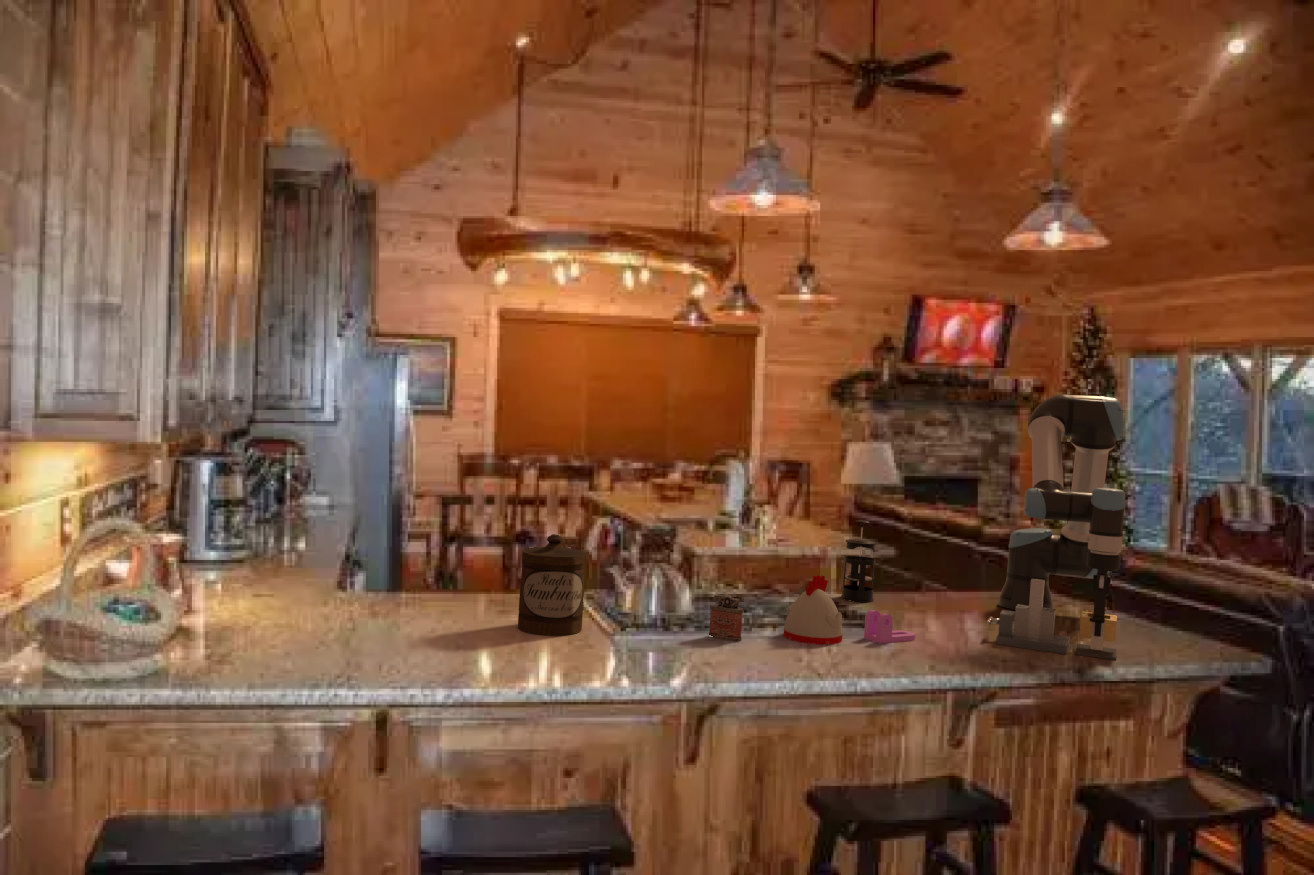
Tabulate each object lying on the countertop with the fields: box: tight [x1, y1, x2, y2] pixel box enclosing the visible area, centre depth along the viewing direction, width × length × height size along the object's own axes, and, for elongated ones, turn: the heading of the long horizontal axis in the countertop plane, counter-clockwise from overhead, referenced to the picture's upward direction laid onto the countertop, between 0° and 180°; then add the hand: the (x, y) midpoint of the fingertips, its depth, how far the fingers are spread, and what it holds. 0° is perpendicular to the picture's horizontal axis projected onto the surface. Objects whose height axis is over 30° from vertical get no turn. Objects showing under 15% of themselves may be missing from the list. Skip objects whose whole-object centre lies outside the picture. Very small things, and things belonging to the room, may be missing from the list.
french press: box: [840, 519, 878, 603], centre depth 317 cm, size 12×9×23 cm
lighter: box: [708, 594, 744, 643], centre depth 254 cm, size 8×3×10 cm, turn 65°
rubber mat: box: [1075, 643, 1117, 661], centre depth 264 cm, size 11×9×1 cm
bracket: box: [863, 609, 916, 644], centre depth 266 cm, size 13×6×7 cm, turn 121°
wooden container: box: [517, 533, 586, 637], centre depth 253 cm, size 15×15×22 cm
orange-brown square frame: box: [1078, 610, 1118, 643], centre depth 264 cm, size 8×8×5 cm
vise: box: [986, 579, 1070, 655], centre depth 270 cm, size 12×19×16 cm, turn 67°
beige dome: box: [783, 575, 843, 646], centre depth 261 cm, size 14×14×15 cm
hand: (1096, 645), depth 264 cm, fingers closed on orange-brown square frame, 8 cm apart
